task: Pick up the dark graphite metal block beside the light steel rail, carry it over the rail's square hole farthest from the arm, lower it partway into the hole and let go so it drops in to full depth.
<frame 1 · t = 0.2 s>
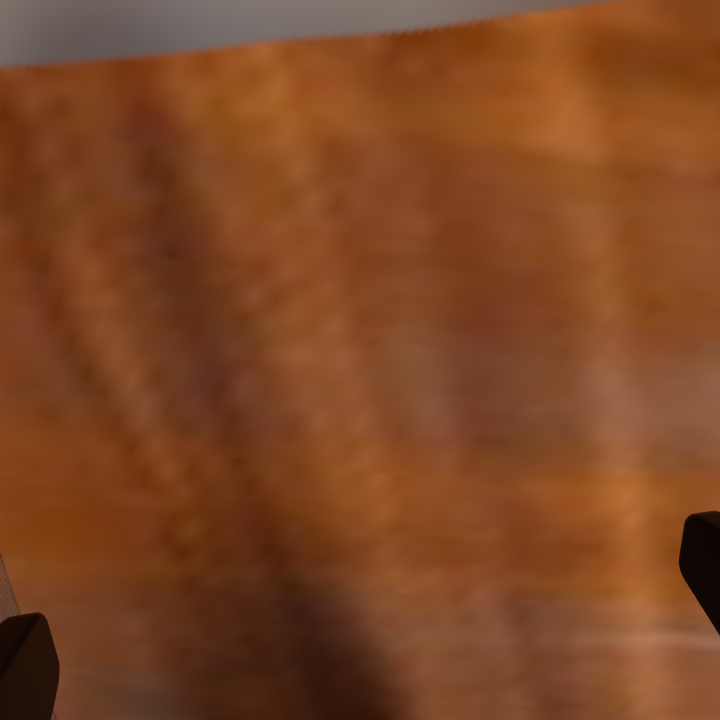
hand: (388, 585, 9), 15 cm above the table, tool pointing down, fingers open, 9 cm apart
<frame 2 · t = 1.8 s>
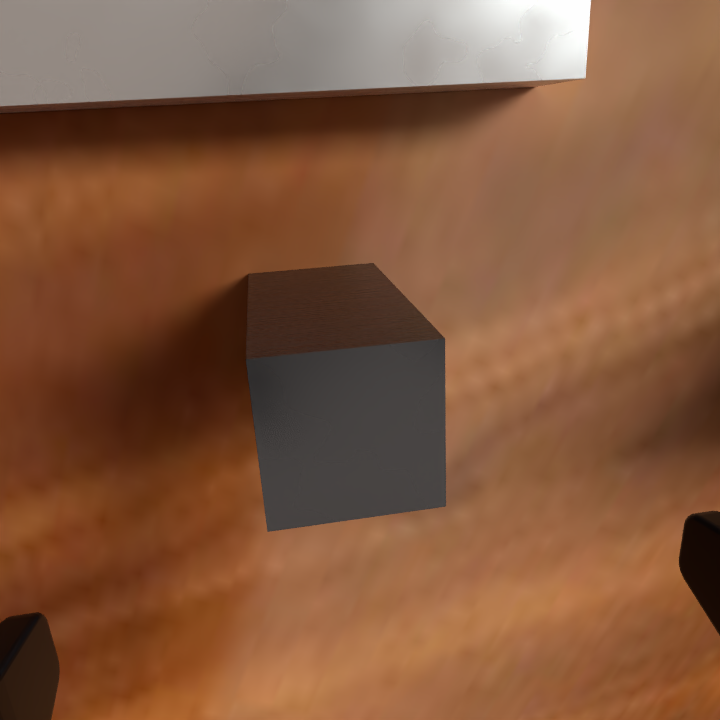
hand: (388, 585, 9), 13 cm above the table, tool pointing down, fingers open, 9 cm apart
graphite block: (316, 328, 20), on the table
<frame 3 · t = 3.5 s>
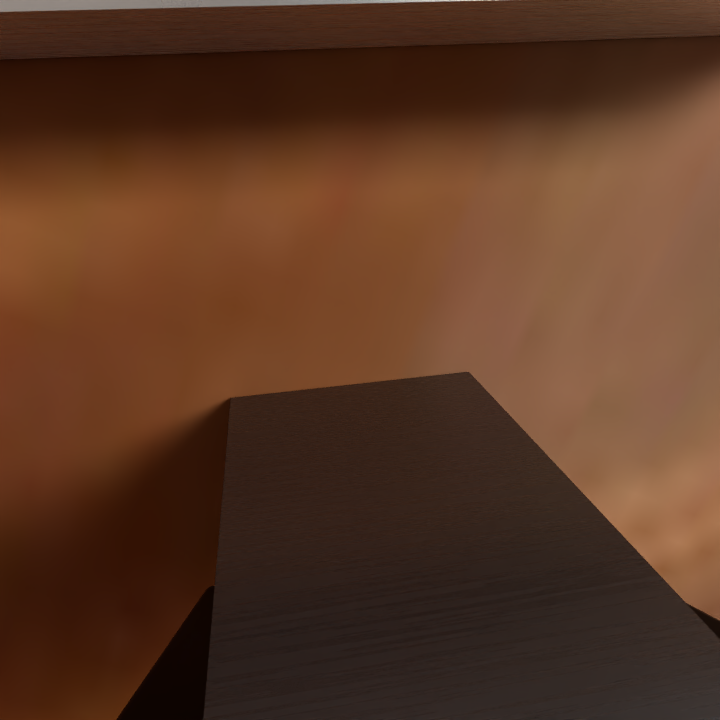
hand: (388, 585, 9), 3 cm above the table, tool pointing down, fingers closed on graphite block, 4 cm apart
graphite block: (359, 489, 11), on the table, touching gripper
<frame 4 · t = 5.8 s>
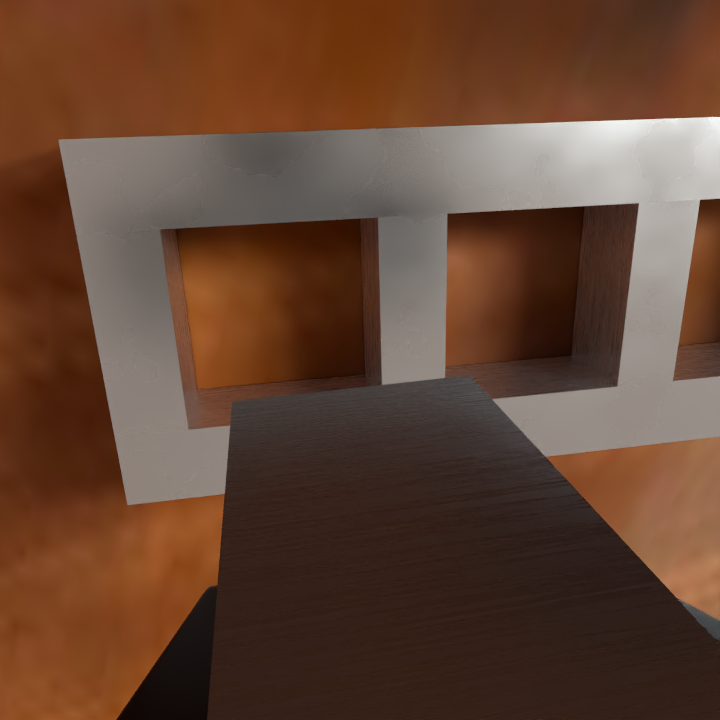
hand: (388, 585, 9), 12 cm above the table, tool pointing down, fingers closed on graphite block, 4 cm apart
graphite block: (360, 491, 11), point 10 cm above the table, touching gripper
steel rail: (500, 284, 21), on the table
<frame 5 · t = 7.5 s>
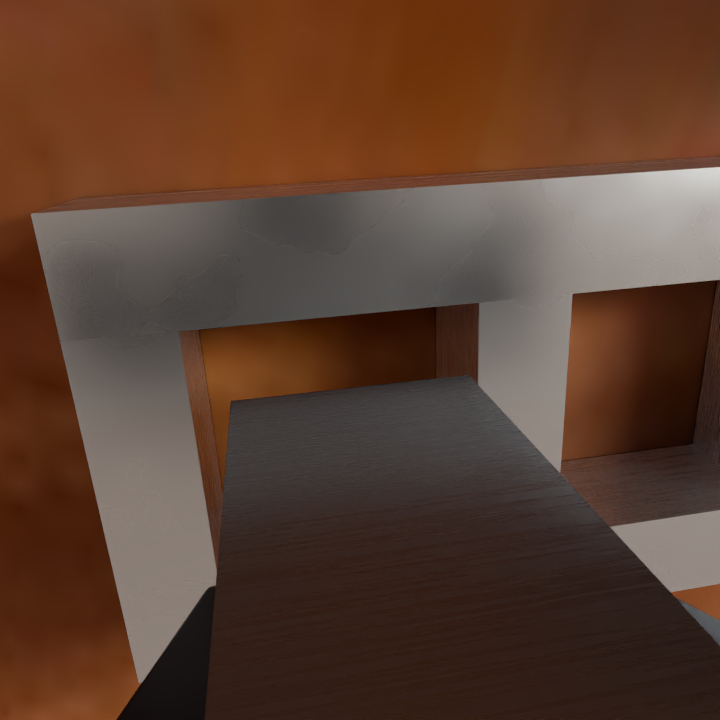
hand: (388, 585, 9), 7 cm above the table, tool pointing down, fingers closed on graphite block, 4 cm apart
graphite block: (359, 491, 11), point 5 cm above the table, touching gripper
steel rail: (609, 362, 16), on the table
when the fingers open (4 cm above the table, at t = 8.5 s): graphite block drops 2 cm, resting in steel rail.
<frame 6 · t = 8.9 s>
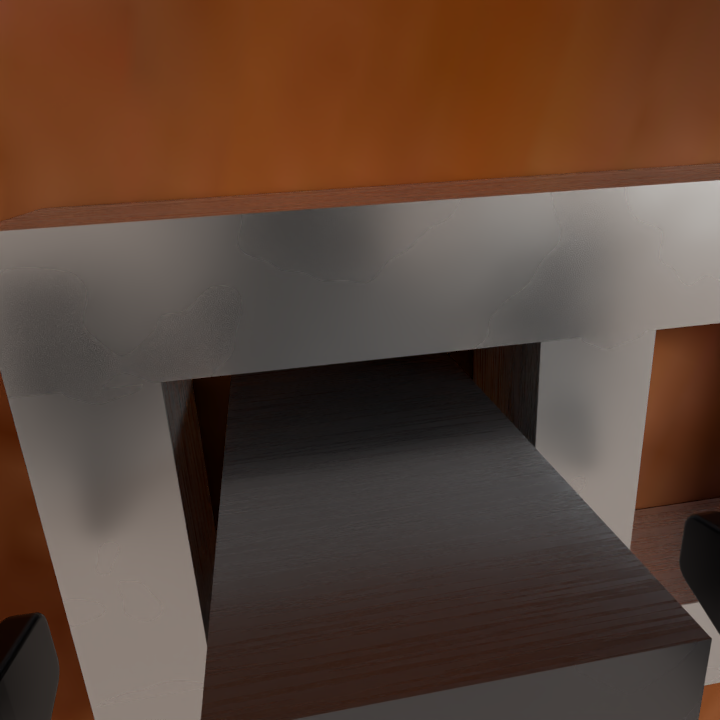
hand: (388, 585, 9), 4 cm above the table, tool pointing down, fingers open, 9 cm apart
graphite block: (342, 441, 13), resting in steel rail
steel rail: (675, 399, 14), on the table
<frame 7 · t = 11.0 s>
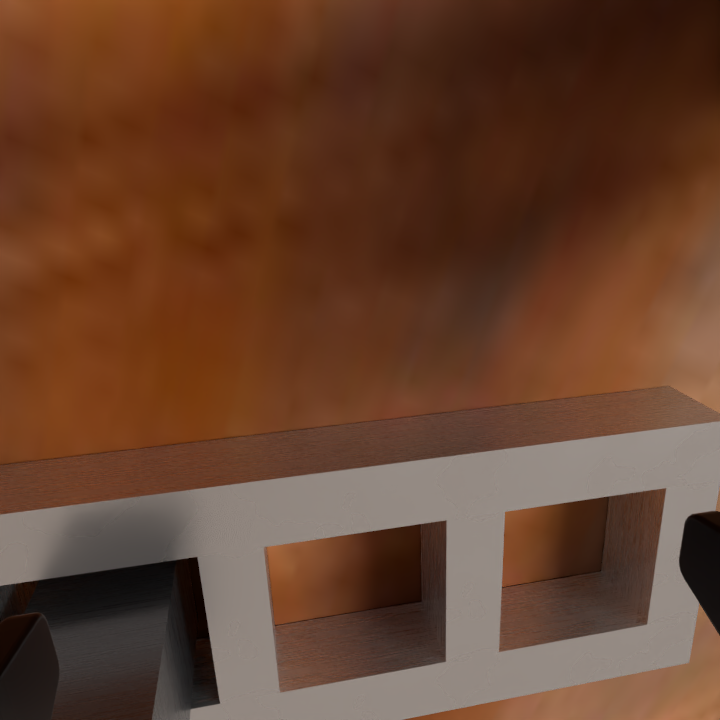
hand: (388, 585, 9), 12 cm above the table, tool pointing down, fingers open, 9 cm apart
graphite block: (130, 583, 21), resting in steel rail
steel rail: (345, 550, 22), on the table
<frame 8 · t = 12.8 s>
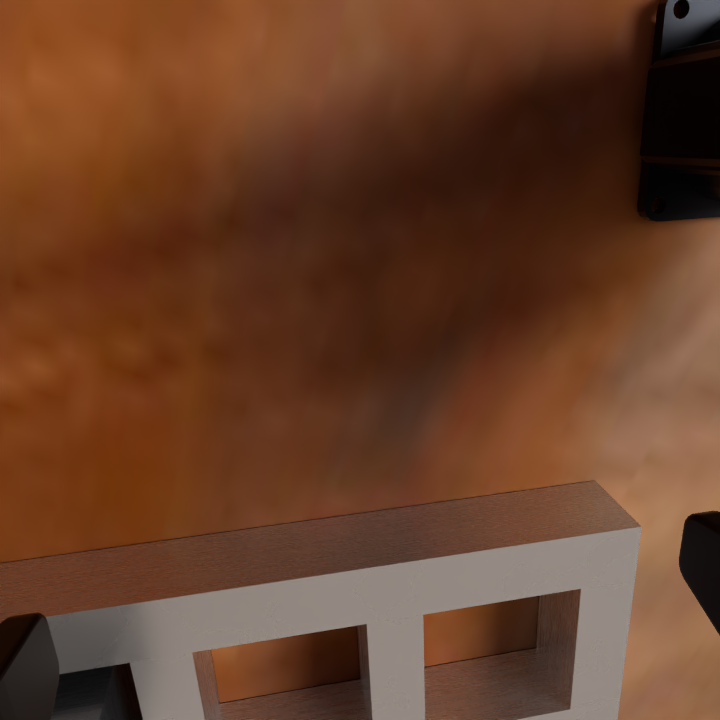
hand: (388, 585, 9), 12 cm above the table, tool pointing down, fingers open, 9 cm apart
graphite block: (80, 669, 23), resting in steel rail
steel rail: (284, 636, 24), on the table
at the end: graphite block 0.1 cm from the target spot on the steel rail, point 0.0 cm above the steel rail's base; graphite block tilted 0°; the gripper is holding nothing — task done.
